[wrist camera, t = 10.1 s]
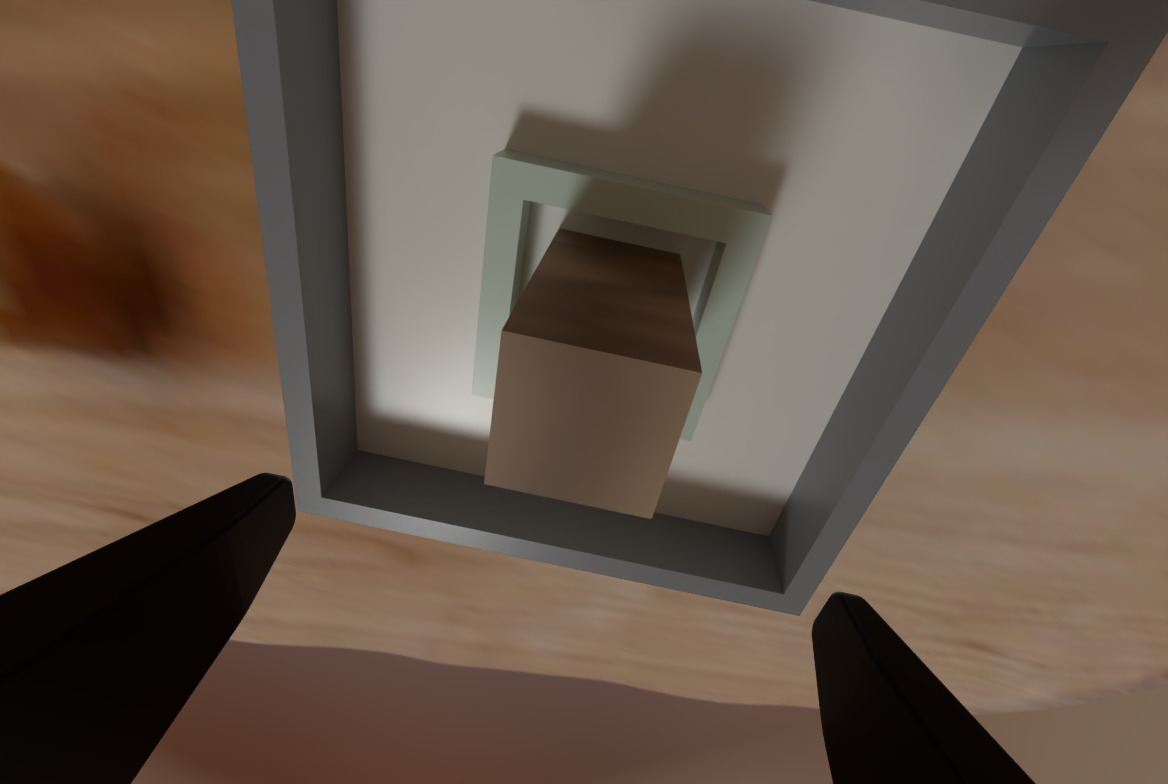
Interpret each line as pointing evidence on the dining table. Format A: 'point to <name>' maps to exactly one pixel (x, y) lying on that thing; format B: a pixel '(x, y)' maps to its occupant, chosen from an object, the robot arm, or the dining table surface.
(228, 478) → the dining table surface
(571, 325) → the peg
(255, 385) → the dining table surface
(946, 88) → the walled box
